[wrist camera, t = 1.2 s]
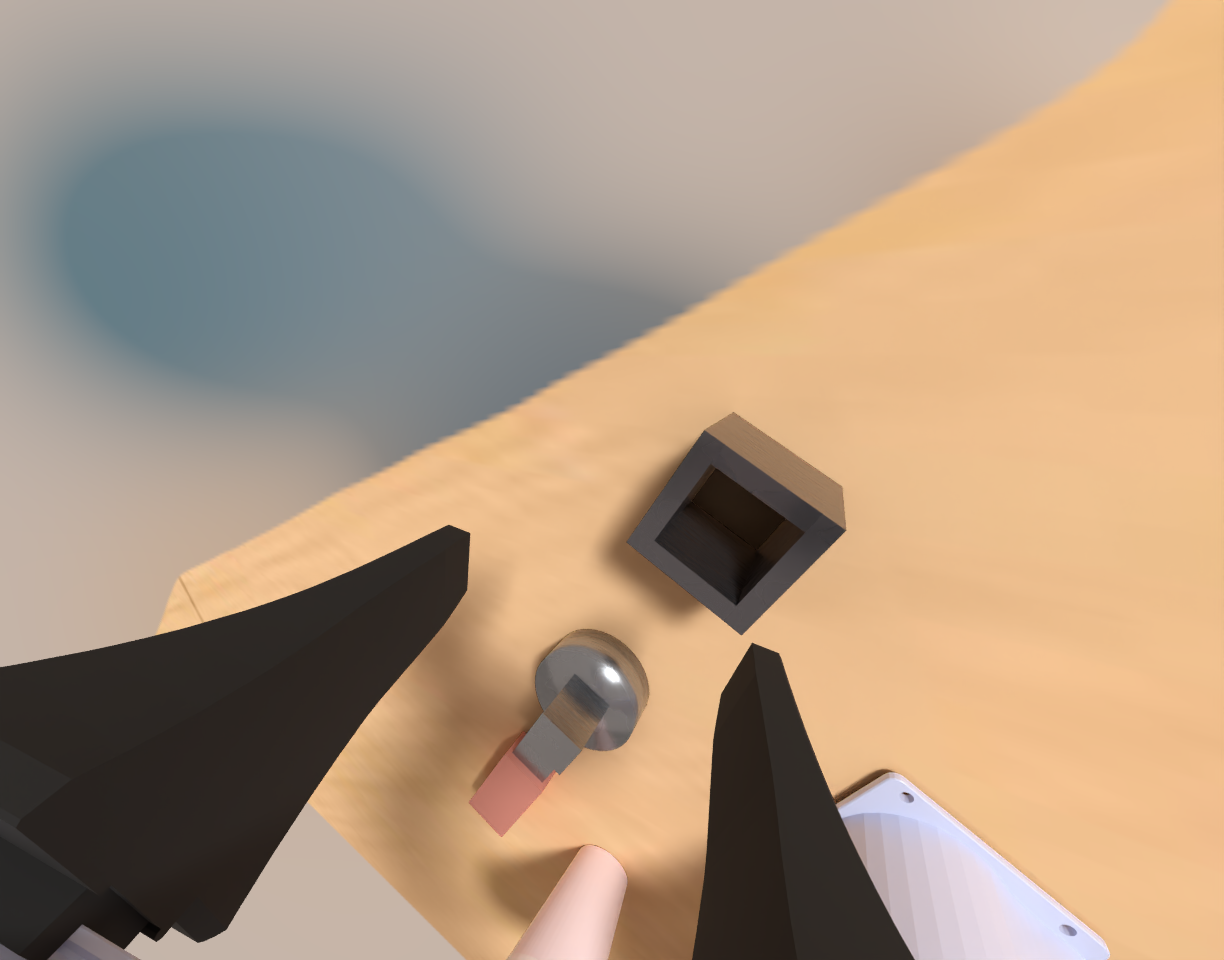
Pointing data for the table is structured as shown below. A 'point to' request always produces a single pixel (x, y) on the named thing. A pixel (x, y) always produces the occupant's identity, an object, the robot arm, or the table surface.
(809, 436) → the table surface
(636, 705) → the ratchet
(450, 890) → the table surface
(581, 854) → the smoothie
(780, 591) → the hollow square tube
